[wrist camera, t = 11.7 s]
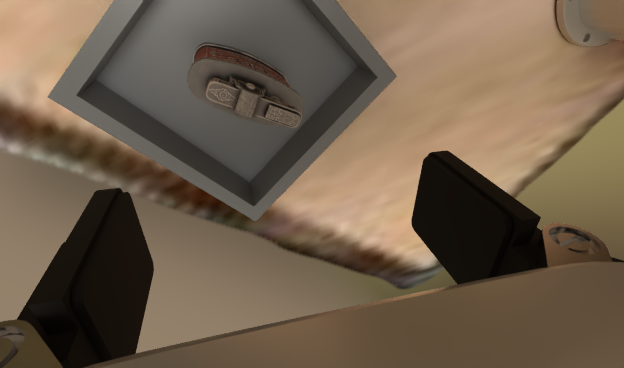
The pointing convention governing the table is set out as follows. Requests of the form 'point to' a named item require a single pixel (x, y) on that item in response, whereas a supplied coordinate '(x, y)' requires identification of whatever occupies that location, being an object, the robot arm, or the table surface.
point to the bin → (207, 119)
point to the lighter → (243, 86)
